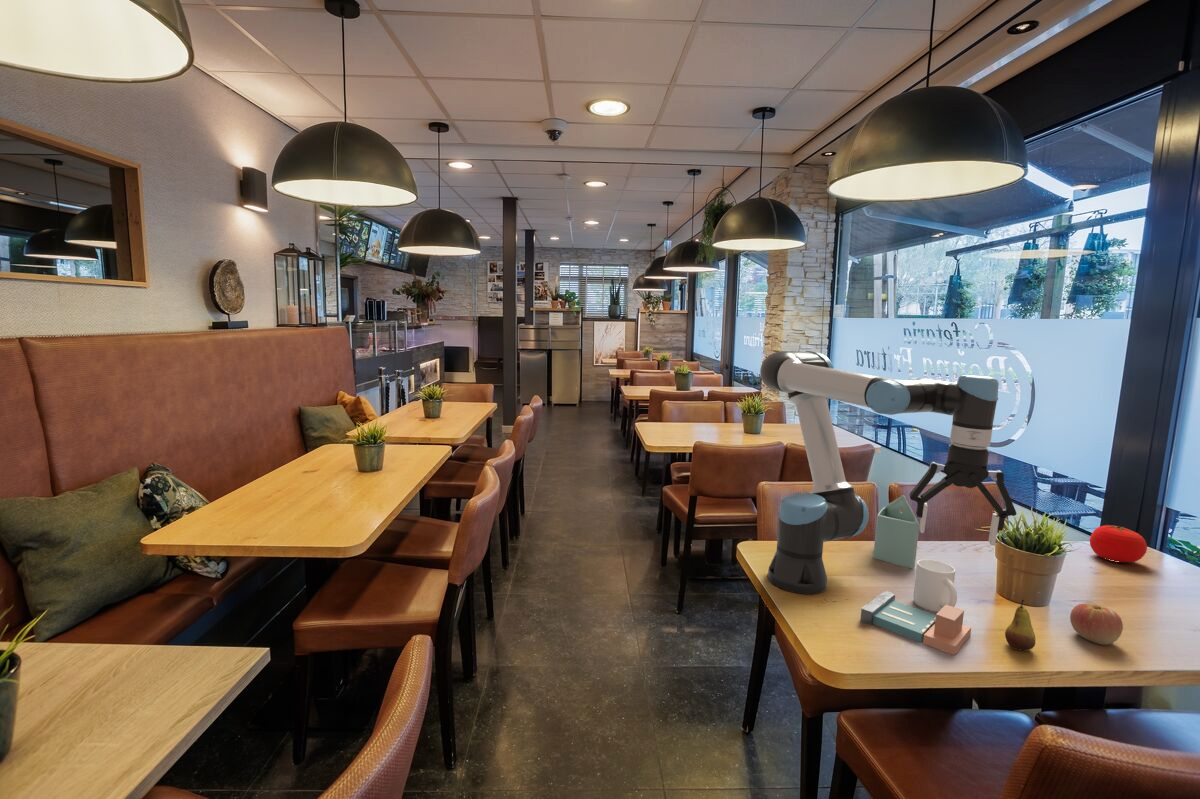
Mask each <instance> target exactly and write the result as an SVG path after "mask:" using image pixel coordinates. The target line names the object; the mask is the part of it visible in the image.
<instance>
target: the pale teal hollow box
mask: <svg viewBox="0 0 1200 799" xmlns="http://www.w3.org/2000/svg"><path fill="white" fill-rule="evenodd" d="M875 524H876V525H875V531H874V532H875V535H874V543H873V555H872V558H873V559H877V560H879V561H882V562H886V563H889V564H893V565H898V566H901V567H904V568H908V569H912V570H914V569H915V570H916V562H917V561H916V560H917V553H918V552H917V551H918V549H917V548H918V540H919V533H920V530H919V527H920V521H918V519H917V516H916V515H915V512H914V511H913V509H912V507H911V506H910V504H909V502H908V500H907V498H906V496H905V495H904V494H901V495H899V497H898V498H896V499H893V501H891V502H889V503H888V504H886V505H884V506H883V507H882V509H881V510H880V511H878V513H877V515H876V523H875Z"/></svg>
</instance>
